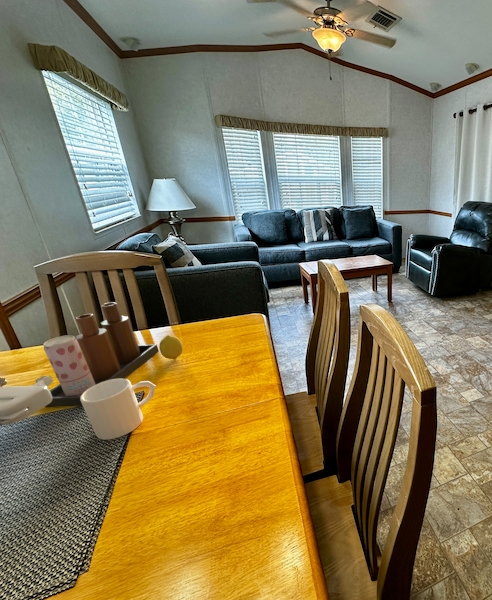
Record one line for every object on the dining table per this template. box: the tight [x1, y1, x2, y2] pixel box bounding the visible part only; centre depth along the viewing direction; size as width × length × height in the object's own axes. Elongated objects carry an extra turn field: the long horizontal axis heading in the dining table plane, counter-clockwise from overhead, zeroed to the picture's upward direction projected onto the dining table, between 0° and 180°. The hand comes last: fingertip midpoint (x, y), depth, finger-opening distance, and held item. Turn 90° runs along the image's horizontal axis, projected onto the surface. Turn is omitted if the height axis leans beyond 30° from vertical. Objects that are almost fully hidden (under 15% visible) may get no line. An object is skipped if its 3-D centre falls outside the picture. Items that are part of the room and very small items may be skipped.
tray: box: [44, 343, 160, 408], centre depth 89 cm, size 25×11×2 cm, turn 2°
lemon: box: [158, 334, 184, 361], centre depth 96 cm, size 6×6×8 cm
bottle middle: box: [75, 313, 121, 381], centre depth 86 cm, size 6×6×18 cm
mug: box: [80, 378, 157, 441], centre depth 71 cm, size 8×12×10 cm, turn 131°
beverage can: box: [42, 334, 96, 396], centre depth 79 cm, size 6×6×15 cm
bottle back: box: [100, 301, 141, 364], centre depth 94 cm, size 6×6×18 cm
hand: (25, 379), depth 69 cm, fingers open, 8 cm apart
